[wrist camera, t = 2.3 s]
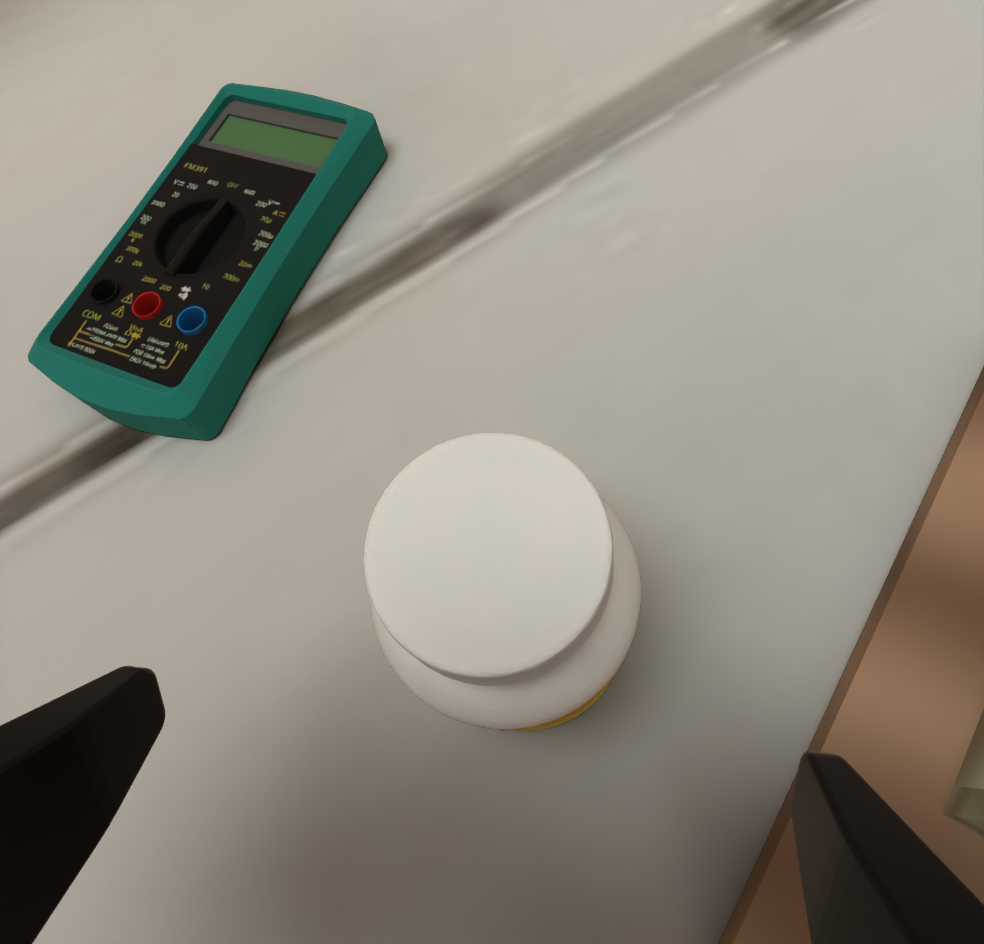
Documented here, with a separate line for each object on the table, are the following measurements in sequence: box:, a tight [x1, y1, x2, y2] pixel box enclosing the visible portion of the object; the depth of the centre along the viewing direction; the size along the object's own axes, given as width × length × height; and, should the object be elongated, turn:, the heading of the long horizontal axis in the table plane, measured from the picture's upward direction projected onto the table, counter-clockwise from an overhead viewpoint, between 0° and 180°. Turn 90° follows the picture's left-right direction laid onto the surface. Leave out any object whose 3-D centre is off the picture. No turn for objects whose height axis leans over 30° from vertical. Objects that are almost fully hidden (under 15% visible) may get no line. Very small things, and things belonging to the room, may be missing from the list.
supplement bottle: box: [364, 433, 641, 731], centre depth 15 cm, size 5×5×10 cm
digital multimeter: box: [28, 83, 387, 440], centre depth 25 cm, size 7×15×3 cm, turn 157°
